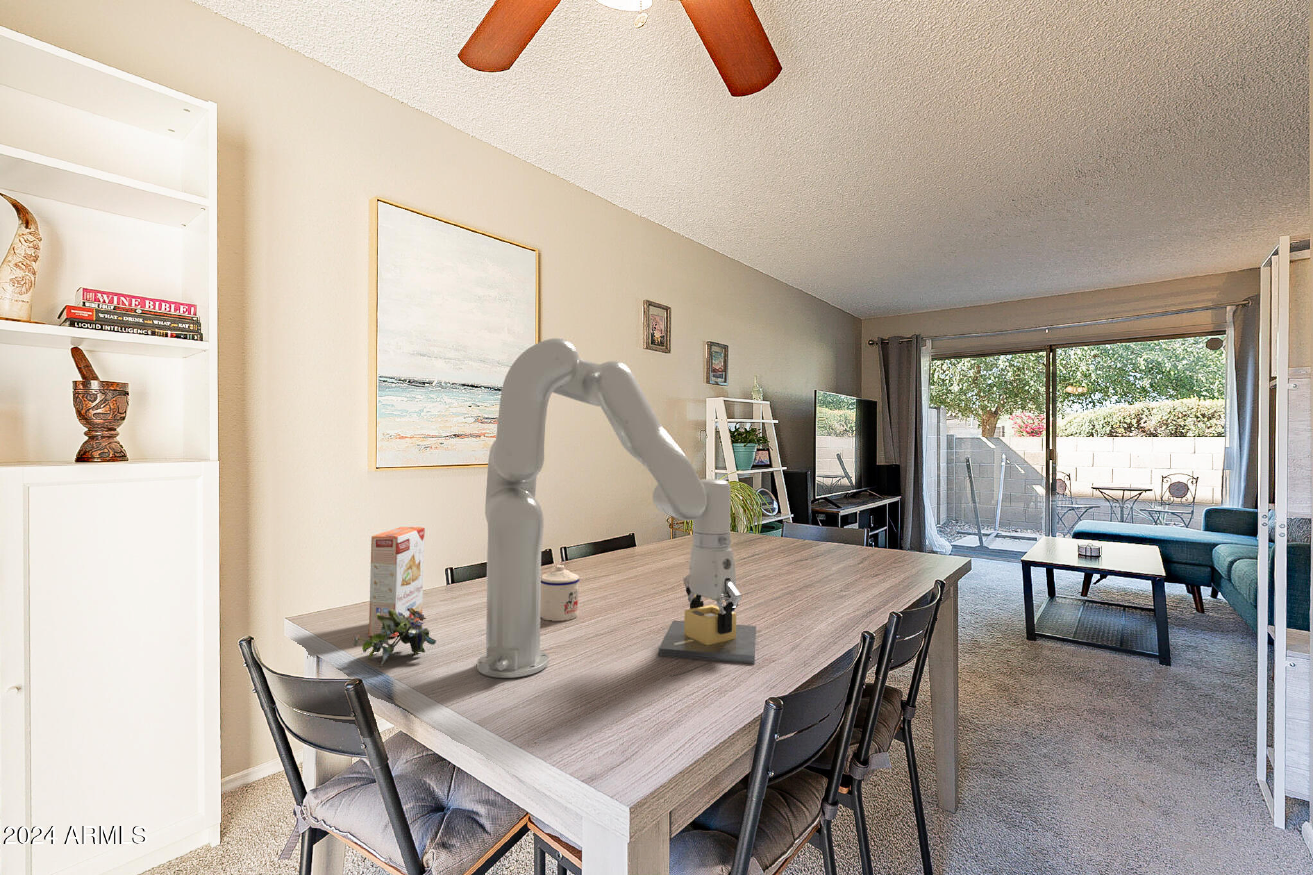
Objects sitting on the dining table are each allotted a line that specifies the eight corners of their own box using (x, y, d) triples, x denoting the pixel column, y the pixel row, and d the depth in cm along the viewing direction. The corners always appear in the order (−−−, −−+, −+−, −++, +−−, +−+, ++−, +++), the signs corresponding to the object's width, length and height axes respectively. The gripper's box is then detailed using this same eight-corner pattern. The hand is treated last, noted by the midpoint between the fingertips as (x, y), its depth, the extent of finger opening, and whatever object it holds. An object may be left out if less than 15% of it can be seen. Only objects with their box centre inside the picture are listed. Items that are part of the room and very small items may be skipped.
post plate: (754, 663, 111) (754, 633, 111) (658, 656, 114) (659, 627, 114) (755, 632, 129) (756, 607, 129) (672, 627, 132) (673, 602, 132)
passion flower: (414, 682, 114) (451, 632, 113) (370, 694, 104) (411, 639, 103) (380, 641, 118) (416, 593, 118) (335, 648, 108) (374, 596, 108)
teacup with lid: (571, 623, 134) (571, 571, 134) (532, 620, 136) (533, 568, 136) (588, 608, 146) (588, 560, 146) (552, 606, 147) (553, 558, 147)
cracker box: (396, 638, 122) (398, 536, 122) (367, 638, 122) (368, 535, 122) (424, 618, 136) (425, 526, 136) (398, 617, 136) (399, 525, 136)
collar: (736, 638, 120) (736, 611, 120) (707, 645, 116) (707, 617, 116) (712, 628, 127) (712, 603, 127) (684, 634, 122) (684, 608, 122)
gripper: (755, 545, 116) (754, 635, 116) (698, 533, 131) (697, 613, 131) (725, 549, 112) (724, 642, 112) (671, 536, 126) (669, 619, 126)
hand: (710, 626), depth 121 cm, fingers open, 8 cm apart
